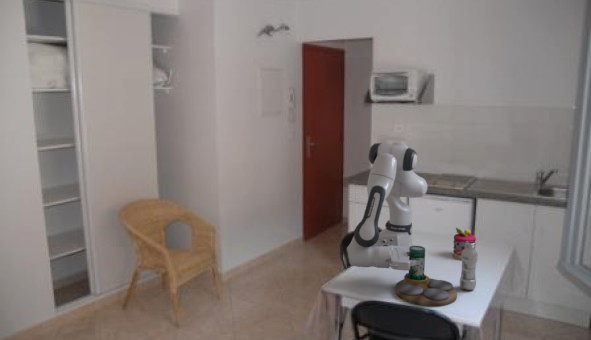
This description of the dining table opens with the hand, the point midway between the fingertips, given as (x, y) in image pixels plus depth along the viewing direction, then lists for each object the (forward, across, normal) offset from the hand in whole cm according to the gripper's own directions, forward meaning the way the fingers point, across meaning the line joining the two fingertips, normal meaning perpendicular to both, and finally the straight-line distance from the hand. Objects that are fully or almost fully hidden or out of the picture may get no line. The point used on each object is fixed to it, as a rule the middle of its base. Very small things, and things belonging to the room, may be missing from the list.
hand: (418, 258), depth 196 cm
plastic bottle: (+20, 0, +13) cm, 24 cm away
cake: (+28, +40, +13) cm, 50 cm away
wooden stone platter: (+2, -6, +12) cm, 14 cm away
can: (-1, 0, +11) cm, 11 cm away
